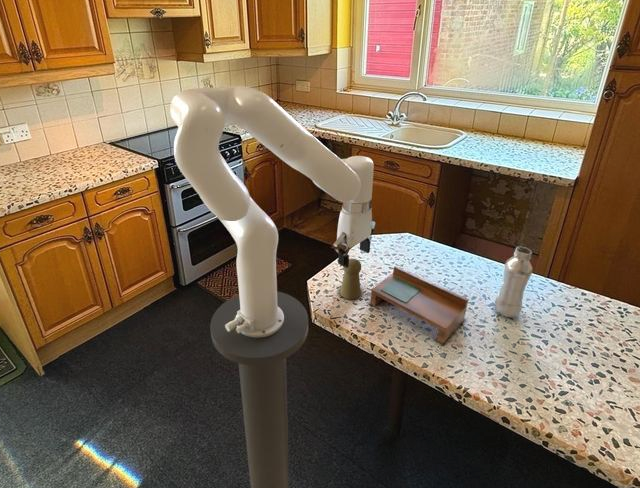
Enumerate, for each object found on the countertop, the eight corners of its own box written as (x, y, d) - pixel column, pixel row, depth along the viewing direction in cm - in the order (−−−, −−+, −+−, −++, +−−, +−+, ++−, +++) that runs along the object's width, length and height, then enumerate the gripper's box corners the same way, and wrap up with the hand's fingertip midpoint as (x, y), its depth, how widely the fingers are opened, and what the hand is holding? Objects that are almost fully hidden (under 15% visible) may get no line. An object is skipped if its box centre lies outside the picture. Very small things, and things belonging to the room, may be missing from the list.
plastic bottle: (506, 323, 105) (525, 260, 97) (487, 307, 111) (503, 246, 102) (524, 317, 108) (544, 254, 99) (505, 301, 113) (522, 241, 104)
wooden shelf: (443, 344, 99) (447, 322, 96) (370, 303, 112) (371, 283, 109) (463, 320, 107) (468, 299, 103) (393, 284, 120) (395, 265, 117)
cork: (337, 296, 115) (339, 265, 110) (342, 284, 120) (344, 254, 115) (358, 301, 113) (361, 269, 108) (362, 288, 118) (365, 257, 114)
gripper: (364, 189, 112) (361, 241, 120) (324, 210, 101) (323, 266, 109) (387, 197, 107) (382, 250, 115) (347, 220, 96) (345, 277, 104)
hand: (354, 258), depth 112 cm, fingers open, 9 cm apart
